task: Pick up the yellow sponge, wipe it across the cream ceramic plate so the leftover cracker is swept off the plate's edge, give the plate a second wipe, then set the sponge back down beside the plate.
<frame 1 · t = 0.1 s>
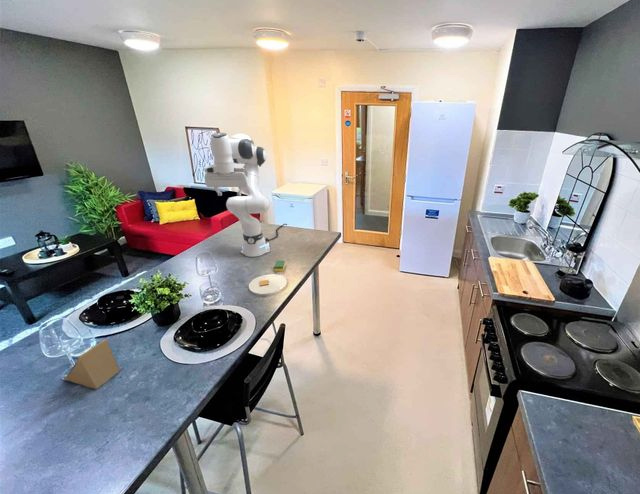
hand: (229, 195, 148), 48 cm above the table, tool pointing down, fingers open, 8 cm apart
sponge: (280, 270, 175), on the table
sandwich container: (93, 374, 104), on the table
plate: (268, 285, 159), on the table
cracker: (264, 283, 158), point 1 cm above the table, touching plate
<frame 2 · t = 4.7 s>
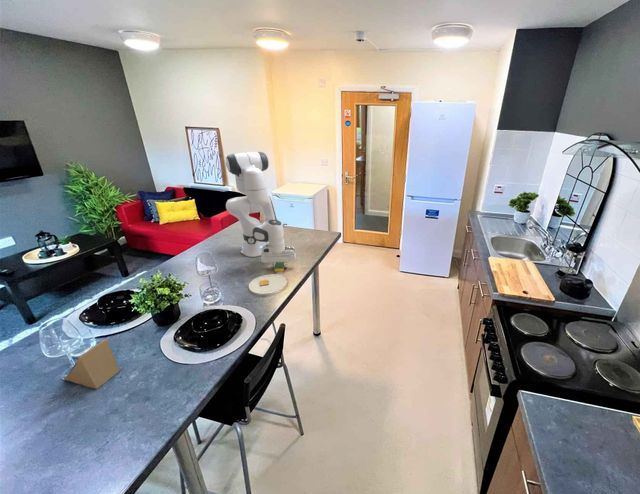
hand: (279, 267, 174), 2 cm above the table, tool pointing down, fingers closed on sponge, 5 cm apart
sponge: (280, 270, 175), on the table, touching gripper
everything else where it was.
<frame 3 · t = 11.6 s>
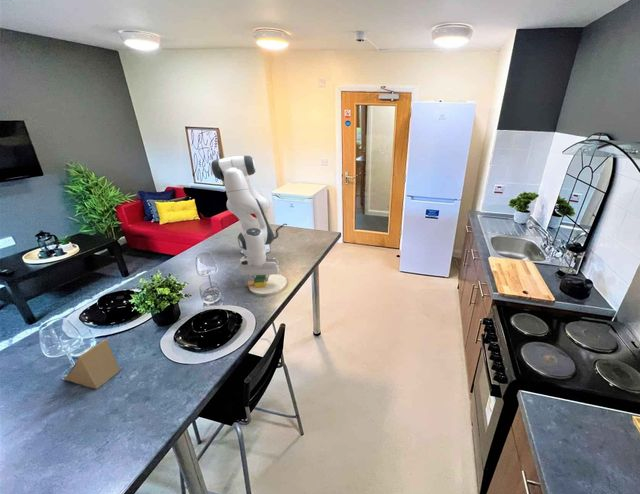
hand: (261, 281, 157), 3 cm above the table, tool pointing down, fingers closed on sponge, 5 cm apart
sponge: (261, 283, 158), point 2 cm above the table, touching cracker, gripper
cracker: (252, 283, 158), point 2 cm above the table, touching plate, sponge
everything else where it was.
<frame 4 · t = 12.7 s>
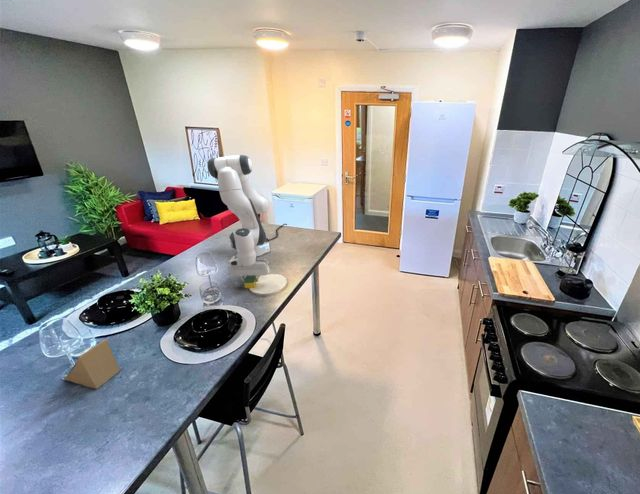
hand: (251, 281, 157), 3 cm above the table, tool pointing down, fingers closed on sponge, 5 cm apart
sponge: (251, 284, 157), point 2 cm above the table, touching gripper
cracker: (245, 286, 158), on the table
everything else where it was.
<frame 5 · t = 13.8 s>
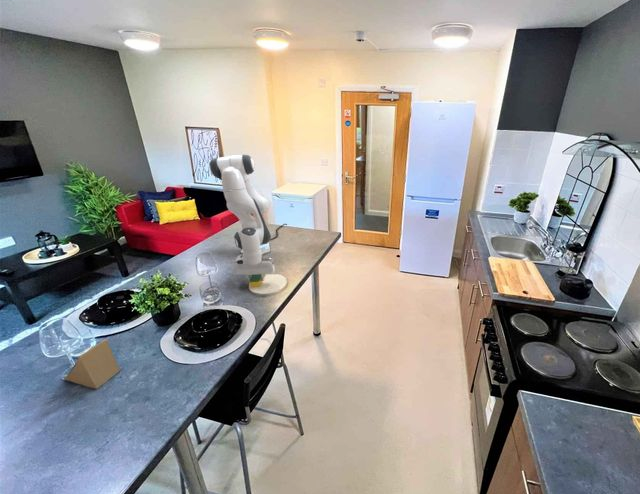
hand: (256, 280, 158), 3 cm above the table, tool pointing down, fingers closed on sponge, 5 cm apart
sponge: (257, 282, 159), point 2 cm above the table, touching gripper
everything else where it was.
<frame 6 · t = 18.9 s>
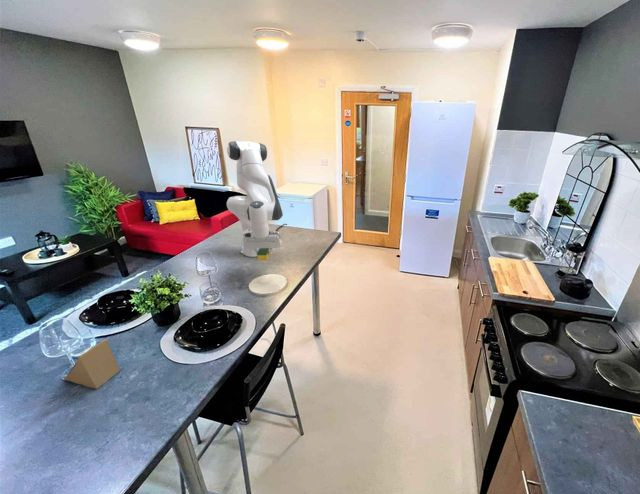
hand: (263, 254, 161), 15 cm above the table, tool pointing down, fingers closed on sponge, 5 cm apart
sponge: (264, 257, 162), point 13 cm above the table, touching gripper
everything else where it was.
when the fingers open (1 cm above the table, at t = 23.3 s): sponge stays where it is, on the table.
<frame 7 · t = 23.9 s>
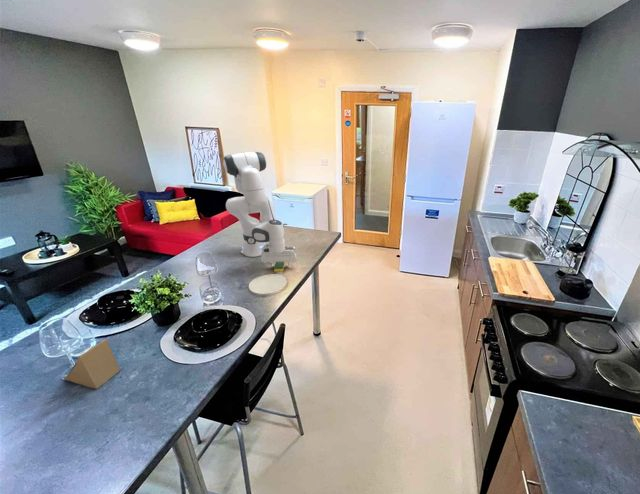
hand: (280, 267, 174), 2 cm above the table, tool pointing down, fingers open, 8 cm apart
sponge: (280, 270, 175), on the table
everything else where it was.
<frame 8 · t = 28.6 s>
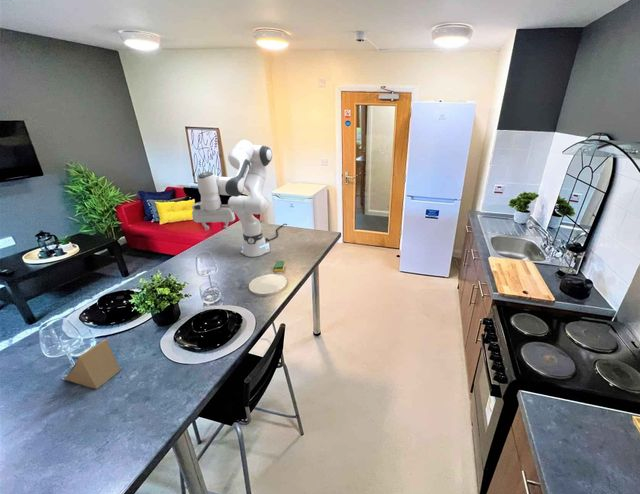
hand: (216, 229, 155), 29 cm above the table, tool pointing down, fingers open, 8 cm apart
nothing on the table moved.
at the end: cracker on the table; the gripper is holding nothing; sponge inside the target area (0.4 cm from its centre), on the table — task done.
